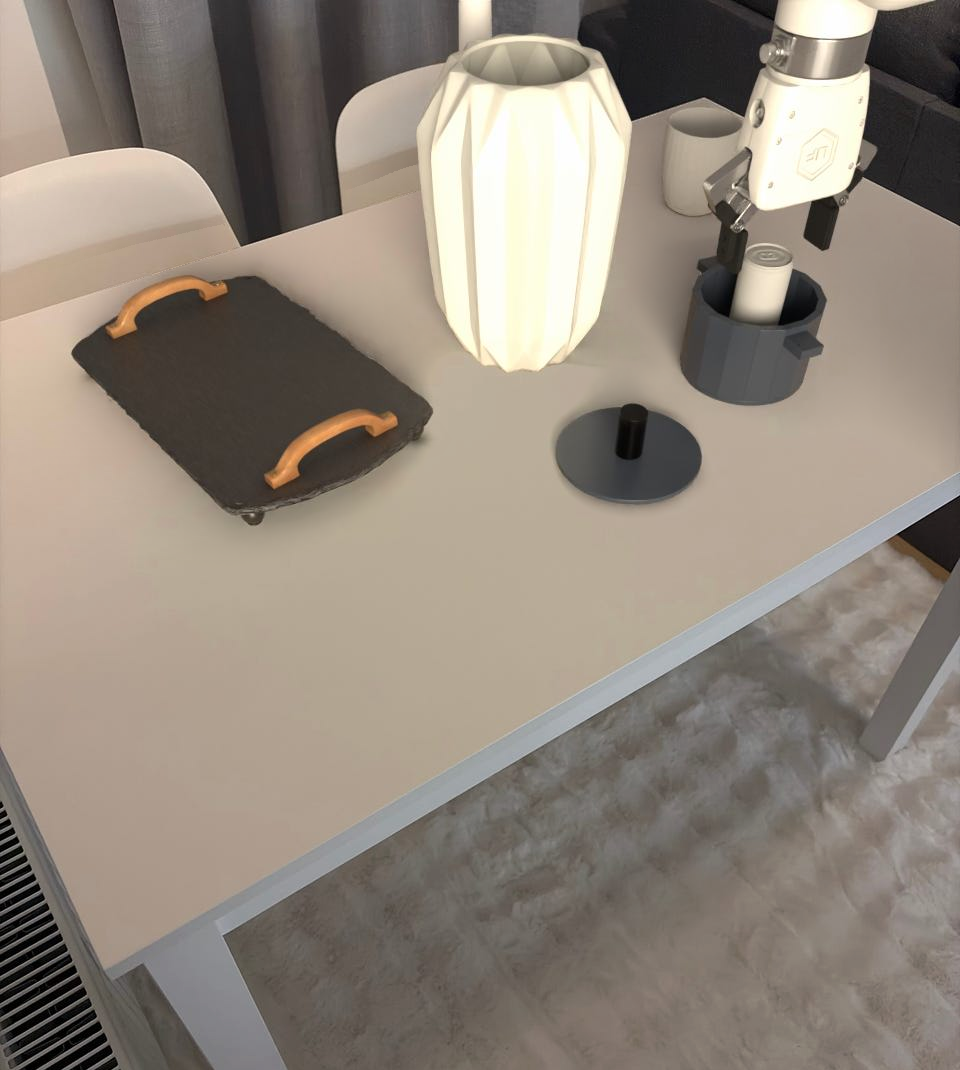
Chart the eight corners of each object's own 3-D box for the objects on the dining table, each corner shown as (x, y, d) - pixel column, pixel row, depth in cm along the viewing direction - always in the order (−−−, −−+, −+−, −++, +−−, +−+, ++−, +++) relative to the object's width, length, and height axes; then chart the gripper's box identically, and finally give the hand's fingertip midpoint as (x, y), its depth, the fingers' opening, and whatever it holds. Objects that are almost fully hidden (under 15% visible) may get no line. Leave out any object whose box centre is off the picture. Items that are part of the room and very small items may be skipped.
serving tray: (62, 361, 101) (40, 308, 96) (249, 284, 110) (237, 232, 105) (254, 557, 82) (239, 503, 77) (460, 444, 91) (458, 390, 86)
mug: (643, 208, 120) (653, 125, 113) (678, 182, 125) (690, 100, 117) (733, 237, 116) (750, 153, 108) (766, 208, 120) (785, 125, 112)
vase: (429, 399, 96) (410, 110, 74) (429, 295, 108) (413, 21, 87) (620, 394, 96) (657, 103, 75) (599, 291, 108) (624, 16, 87)
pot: (744, 311, 105) (760, 237, 99) (845, 401, 95) (871, 325, 88) (645, 338, 102) (655, 264, 96) (738, 434, 92) (757, 358, 85)
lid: (653, 402, 95) (660, 353, 91) (728, 484, 87) (740, 435, 83) (531, 437, 92) (532, 389, 87) (597, 526, 84) (603, 478, 79)
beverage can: (770, 378, 96) (800, 268, 87) (723, 378, 97) (747, 268, 87) (762, 351, 99) (789, 241, 90) (716, 351, 100) (739, 241, 90)
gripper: (752, 84, 71) (715, 295, 84) (936, 46, 75) (873, 253, 88) (699, 53, 76) (671, 258, 89) (875, 19, 80) (824, 219, 93)
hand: (772, 255), depth 88 cm, fingers open, 9 cm apart
